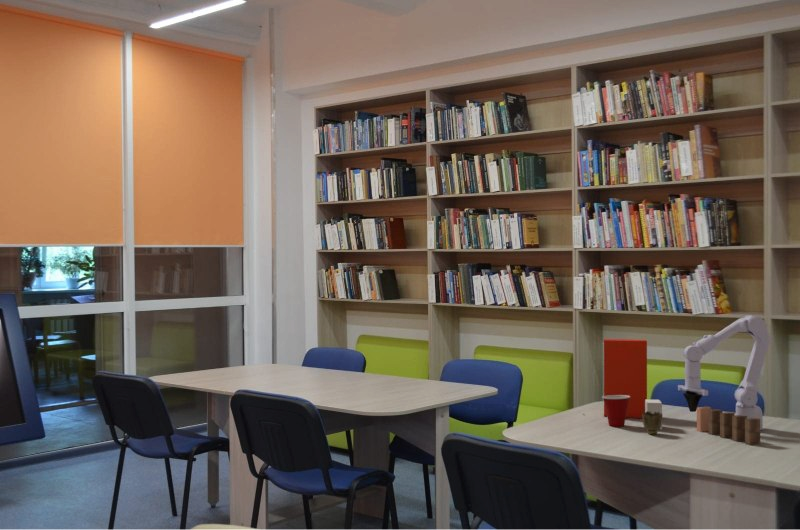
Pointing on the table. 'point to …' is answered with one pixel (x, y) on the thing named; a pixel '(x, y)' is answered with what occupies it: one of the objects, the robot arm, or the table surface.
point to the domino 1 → (702, 418)
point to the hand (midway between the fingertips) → (692, 411)
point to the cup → (652, 422)
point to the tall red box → (626, 373)
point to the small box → (653, 407)
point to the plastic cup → (616, 409)
